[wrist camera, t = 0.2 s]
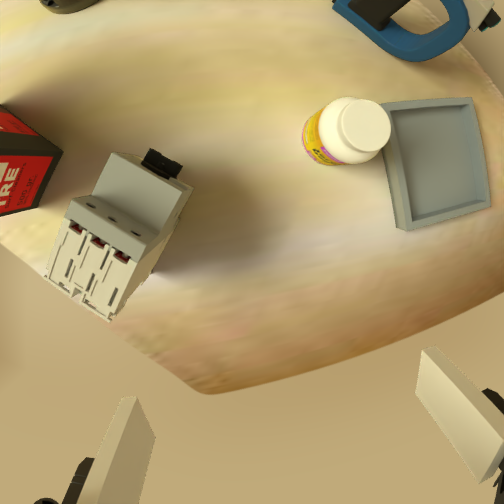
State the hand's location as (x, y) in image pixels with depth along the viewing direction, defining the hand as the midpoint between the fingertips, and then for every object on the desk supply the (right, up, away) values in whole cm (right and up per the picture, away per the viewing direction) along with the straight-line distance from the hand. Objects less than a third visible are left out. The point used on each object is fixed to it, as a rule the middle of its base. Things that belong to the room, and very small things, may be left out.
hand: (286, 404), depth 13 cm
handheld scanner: (+14, +37, +20) cm, 45 cm away
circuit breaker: (-14, +12, +25) cm, 31 cm away
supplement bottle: (+8, +20, +24) cm, 32 cm away
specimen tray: (+23, +19, +25) cm, 39 cm away
